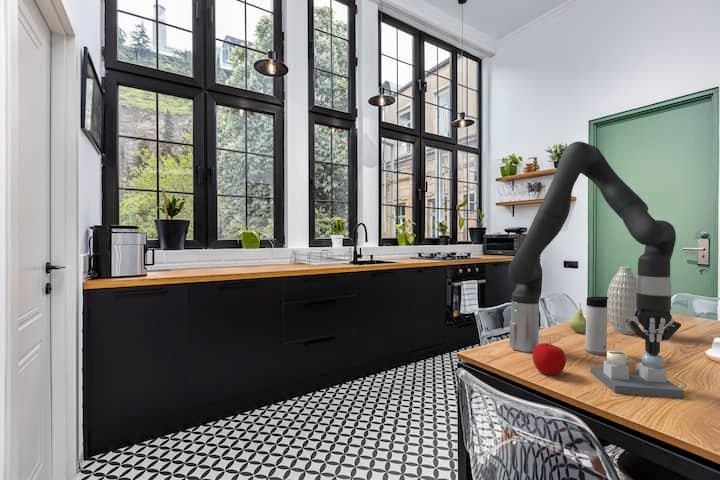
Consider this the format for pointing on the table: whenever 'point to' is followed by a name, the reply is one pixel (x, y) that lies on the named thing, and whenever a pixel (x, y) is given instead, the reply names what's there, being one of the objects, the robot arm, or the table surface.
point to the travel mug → (596, 325)
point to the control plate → (637, 381)
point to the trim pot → (631, 365)
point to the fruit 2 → (578, 322)
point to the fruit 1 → (549, 359)
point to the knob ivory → (616, 358)
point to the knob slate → (652, 361)
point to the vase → (622, 300)
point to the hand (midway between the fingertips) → (652, 354)
